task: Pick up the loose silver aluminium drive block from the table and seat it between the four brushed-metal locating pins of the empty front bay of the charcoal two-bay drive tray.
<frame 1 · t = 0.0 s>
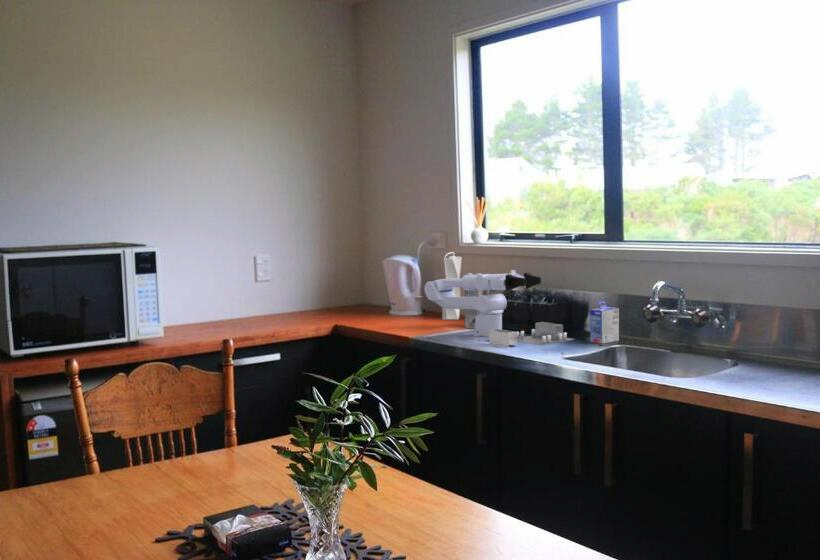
hand: (533, 281, 268), 22 cm above the table, tool horizontal, fingers open, 7 cm apart
drive: (503, 345, 270), on the table
coffee box: (477, 327, 309), on the table
ink cartridge box: (604, 344, 272), on the table
skyscraper: (451, 319, 334), on the table
tray: (541, 342, 275), on the table
seated drive: (548, 338, 277), point 1 cm above the table, touching tray
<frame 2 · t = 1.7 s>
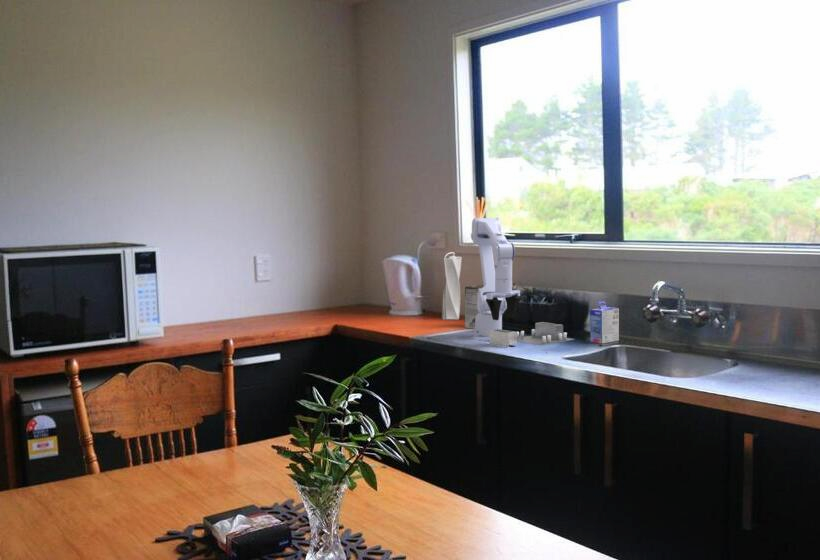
hand: (503, 318, 269), 9 cm above the table, tool pointing down, fingers open, 7 cm apart
nothing on the table moved.
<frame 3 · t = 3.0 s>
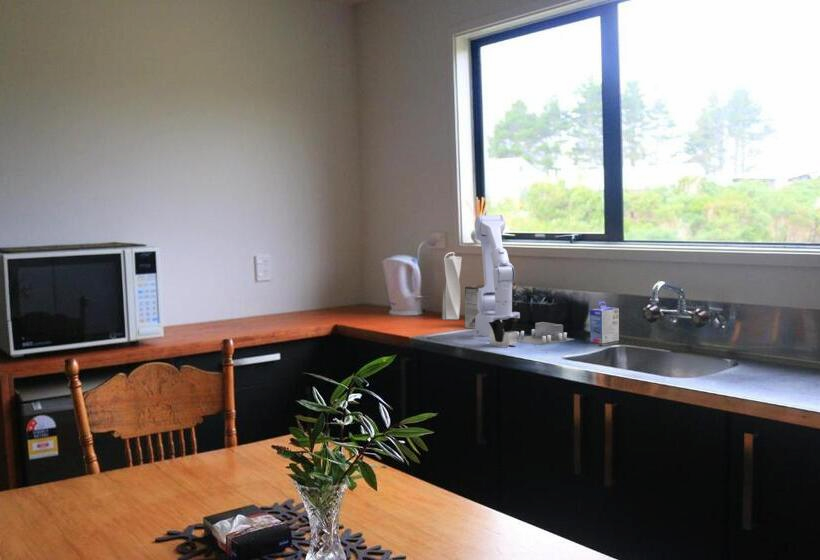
hand: (503, 340, 269), 1 cm above the table, tool pointing down, fingers closed on drive, 4 cm apart
drive: (503, 345, 269), on the table, touching gripper
everything else where it was.
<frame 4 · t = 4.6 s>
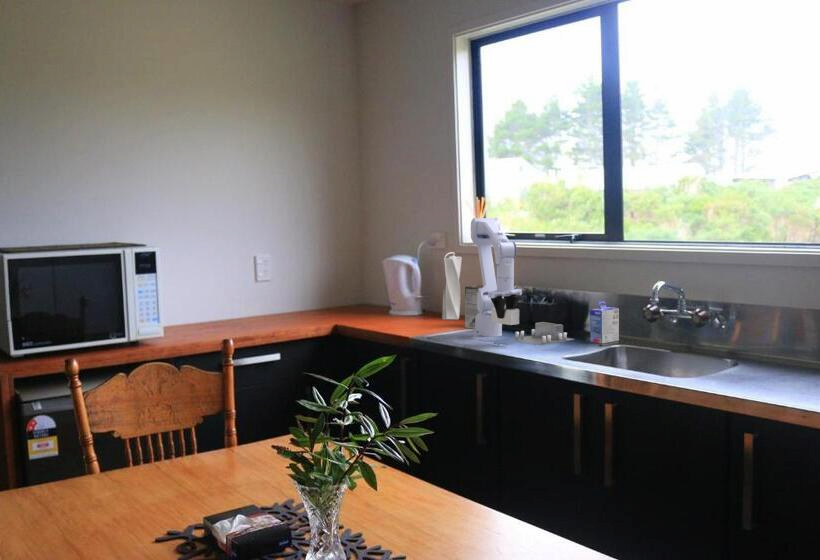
hand: (504, 317, 269), 9 cm above the table, tool pointing down, fingers closed on drive, 4 cm apart
drive: (505, 323, 269), point 8 cm above the table, touching gripper
everything else where it was.
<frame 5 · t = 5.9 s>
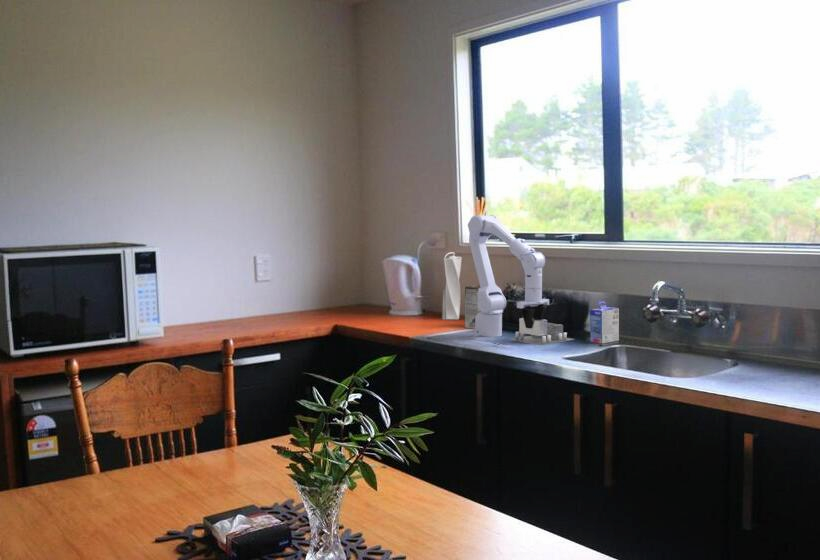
hand: (533, 327, 271), 6 cm above the table, tool pointing down, fingers closed on drive, 4 cm apart
drive: (533, 333, 271), point 4 cm above the table, touching gripper
everything else where it was.
when the fingers open (4 cm above the table, at t = 6.6 s): drive stays where it is, resting on tray.
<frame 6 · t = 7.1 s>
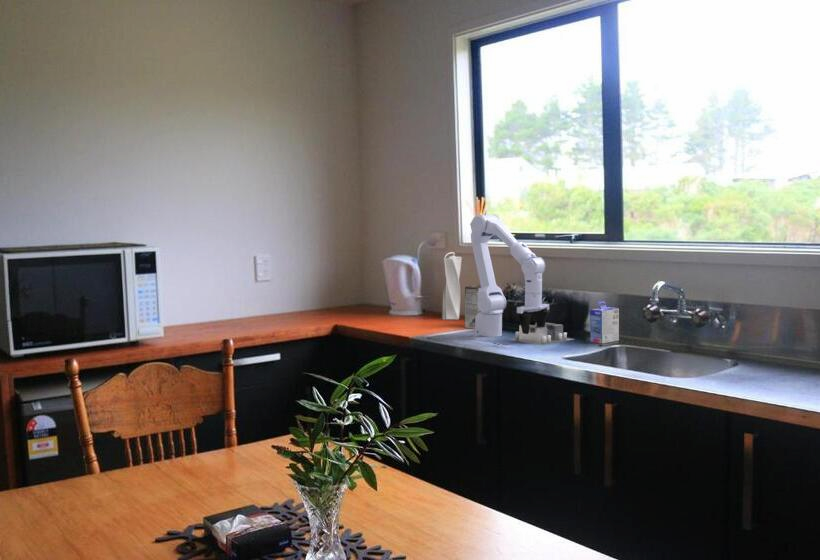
hand: (532, 332, 271), 4 cm above the table, tool pointing down, fingers open, 7 cm apart
drive: (532, 340, 272), point 1 cm above the table, touching tray
everything else where it was.
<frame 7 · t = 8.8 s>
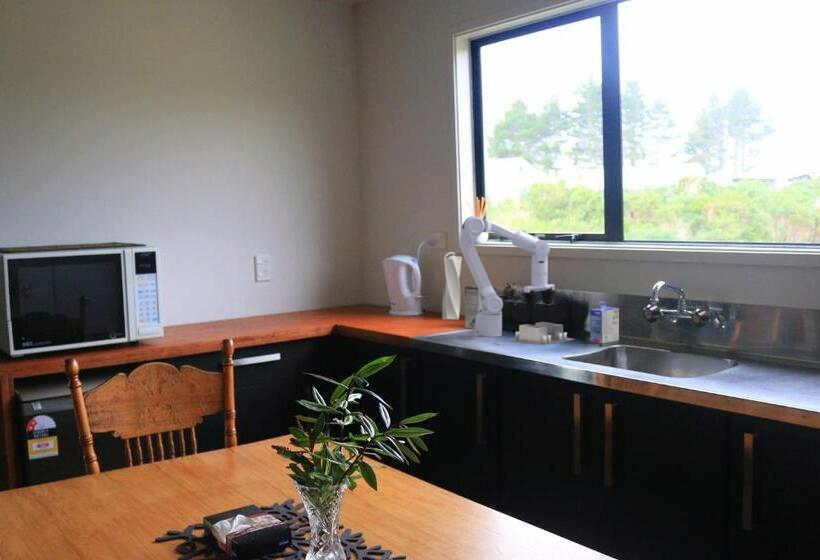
hand: (539, 311, 285), 9 cm above the table, tool pointing down, fingers open, 7 cm apart
nothing on the table moved.
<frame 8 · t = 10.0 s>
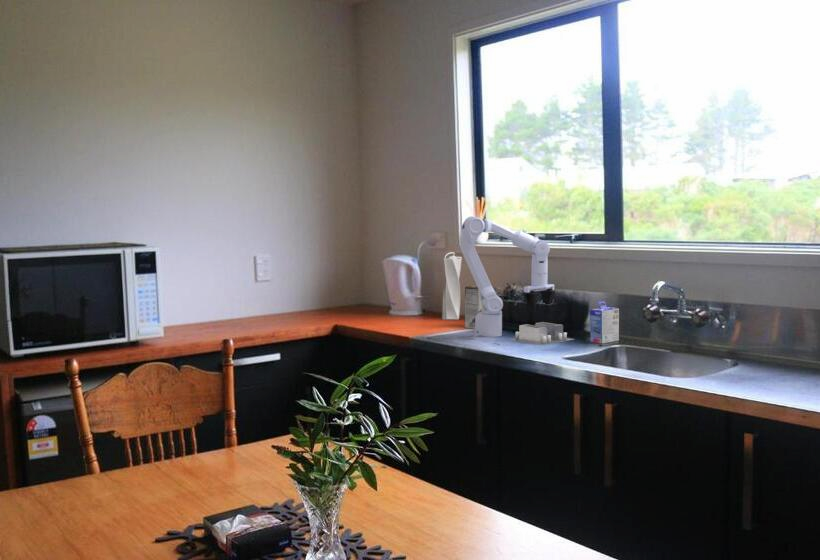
hand: (539, 311, 285), 9 cm above the table, tool pointing down, fingers open, 7 cm apart
nothing on the table moved.
at the end: drive 0.0 cm from the target spot on the tray, point 1.0 cm above the tray's base; drive tilted 0°; the gripper is holding nothing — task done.
